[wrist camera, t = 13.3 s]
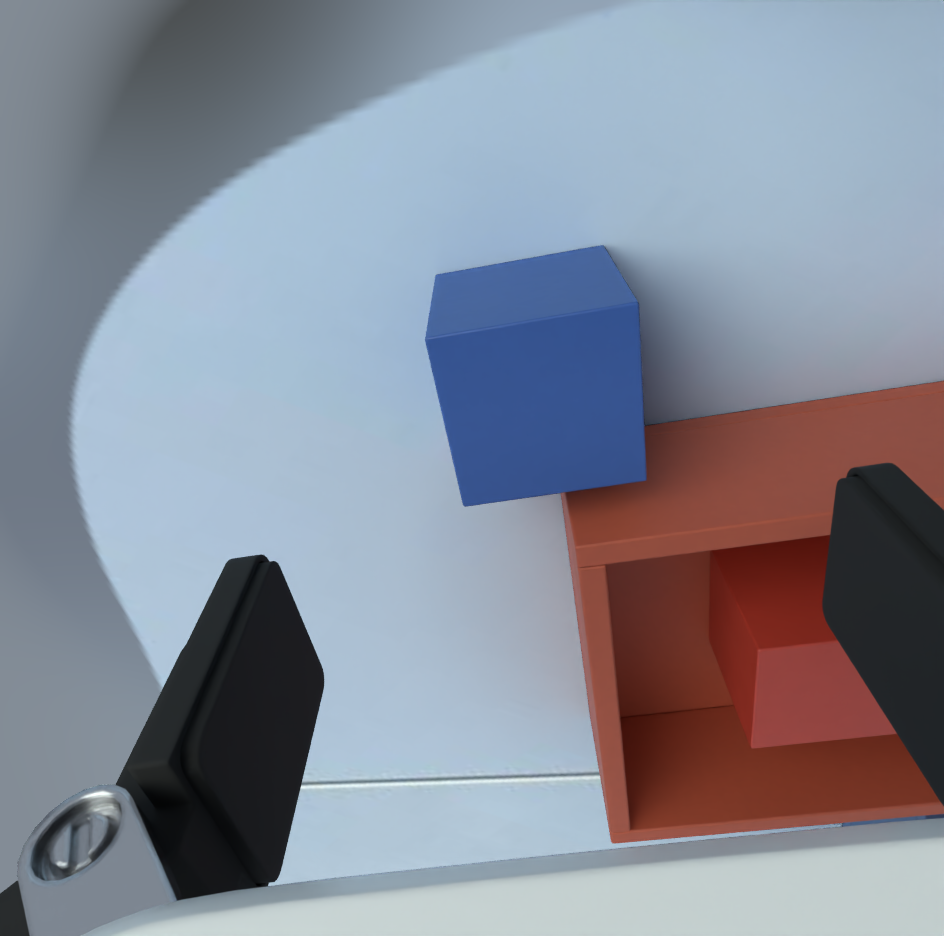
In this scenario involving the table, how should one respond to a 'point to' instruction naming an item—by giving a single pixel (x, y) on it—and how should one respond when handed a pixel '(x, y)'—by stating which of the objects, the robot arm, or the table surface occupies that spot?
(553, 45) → the table surface
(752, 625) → the red block
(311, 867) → the table surface
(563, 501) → the red bin
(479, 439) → the blue block
